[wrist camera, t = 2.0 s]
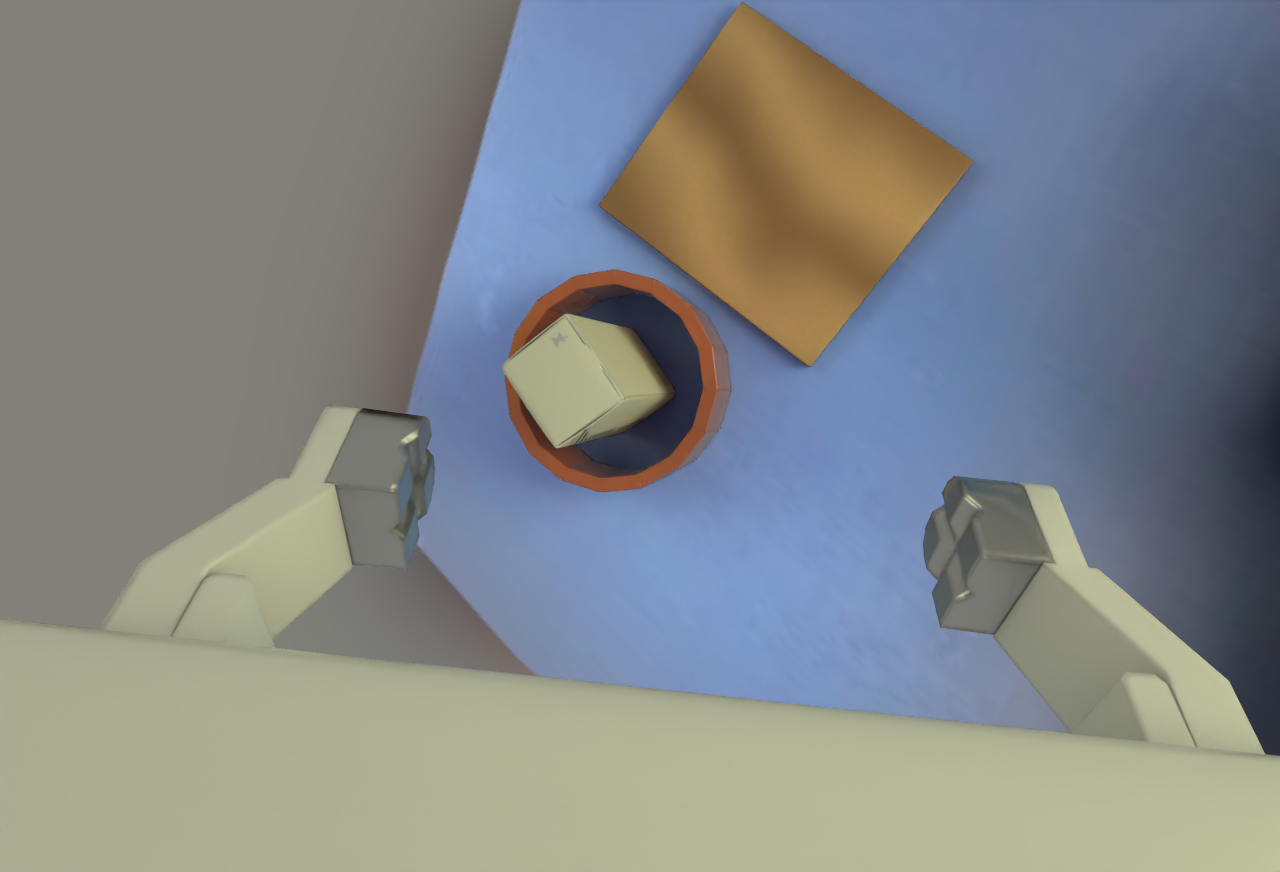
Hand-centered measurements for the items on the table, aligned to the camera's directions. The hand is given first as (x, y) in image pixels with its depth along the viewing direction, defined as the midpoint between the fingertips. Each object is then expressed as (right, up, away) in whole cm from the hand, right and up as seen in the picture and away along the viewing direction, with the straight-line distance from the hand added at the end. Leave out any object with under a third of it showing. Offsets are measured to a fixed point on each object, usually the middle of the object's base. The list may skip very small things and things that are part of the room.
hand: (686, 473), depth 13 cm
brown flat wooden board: (+7, +15, +36) cm, 40 cm away
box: (-1, +4, +39) cm, 39 cm away
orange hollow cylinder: (-1, +4, +39) cm, 39 cm away
